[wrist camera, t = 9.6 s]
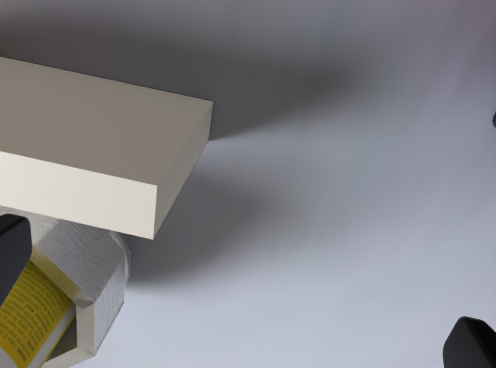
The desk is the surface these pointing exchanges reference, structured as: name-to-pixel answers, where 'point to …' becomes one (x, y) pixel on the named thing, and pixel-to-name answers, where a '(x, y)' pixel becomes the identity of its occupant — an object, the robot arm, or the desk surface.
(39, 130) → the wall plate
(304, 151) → the desk surface
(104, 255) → the cup bracket
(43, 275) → the supplement bottle
